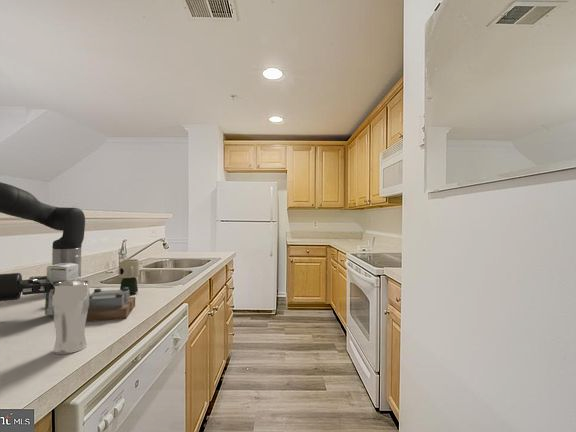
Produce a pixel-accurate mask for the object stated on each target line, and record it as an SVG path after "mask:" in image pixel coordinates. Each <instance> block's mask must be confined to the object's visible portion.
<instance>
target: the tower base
mask: <svg viewBox="0 0 576 432" xmlns="http://www.w3.org/2000/svg"><path fill="white" fill-rule="evenodd" d="M129 294H130V295H131V293H130V290H129V288H128V287H124V288H122V290H120V289H116V290H115V289H113V290H102V289H101V288H95V289H94V290H93V292H92V293H90V302H89V310H88V315H87V319H86V323H87V322H90V323H91V322H100V321H114V320H126V319H127V318H128V317H129V316H130V314H131V313H132V311H133V310H134V308H135V307H136V296H131V297H130V295H129Z"/></svg>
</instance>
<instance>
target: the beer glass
mask: <svg viewBox="0 0 576 432" xmlns="http://www.w3.org/2000/svg"><path fill="white" fill-rule="evenodd" d="M90 295H91V293H90V282H89V280H85V279H81V280H71V281H64V282H59V283H56V284H54V287H53V296H52V313H53V315H52V317H53V323H54V328H55V341H54V347H53V354H55V355H68V354H74V353H77V352H79V351H82V350H83V349H85V348H86V347H87V340H86V334H85V332H86V331H85V330H86V324H87V322H86V319H87V315H88V310H89V302H90Z"/></svg>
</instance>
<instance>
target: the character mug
mask: <svg viewBox="0 0 576 432" xmlns="http://www.w3.org/2000/svg"><path fill="white" fill-rule="evenodd" d="M118 277H119V278H120V279H121V282H120V287H119V290H122V288H124V287H128V288H129V290H130V294H129V296H130V295H131V294H134V293H138V292H139V289H138V288H139V287H138V280H137V277H140V259H133V258H132V259H131V258H130V259H129V258H127V259H121V260H119V261H118Z"/></svg>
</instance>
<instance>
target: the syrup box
mask: <svg viewBox="0 0 576 432" xmlns="http://www.w3.org/2000/svg"><path fill="white" fill-rule="evenodd" d="M46 276H47V278H46V280H47V282H51V281H52V282H57V281H71V280H78V264H74V263H61V264H56V265H47V266H46ZM52 296H53V291H50V292H49V293H45V302H44V303H45V304H44V314H45V315H46V316H49V315H52V316H53V313H52Z"/></svg>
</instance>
